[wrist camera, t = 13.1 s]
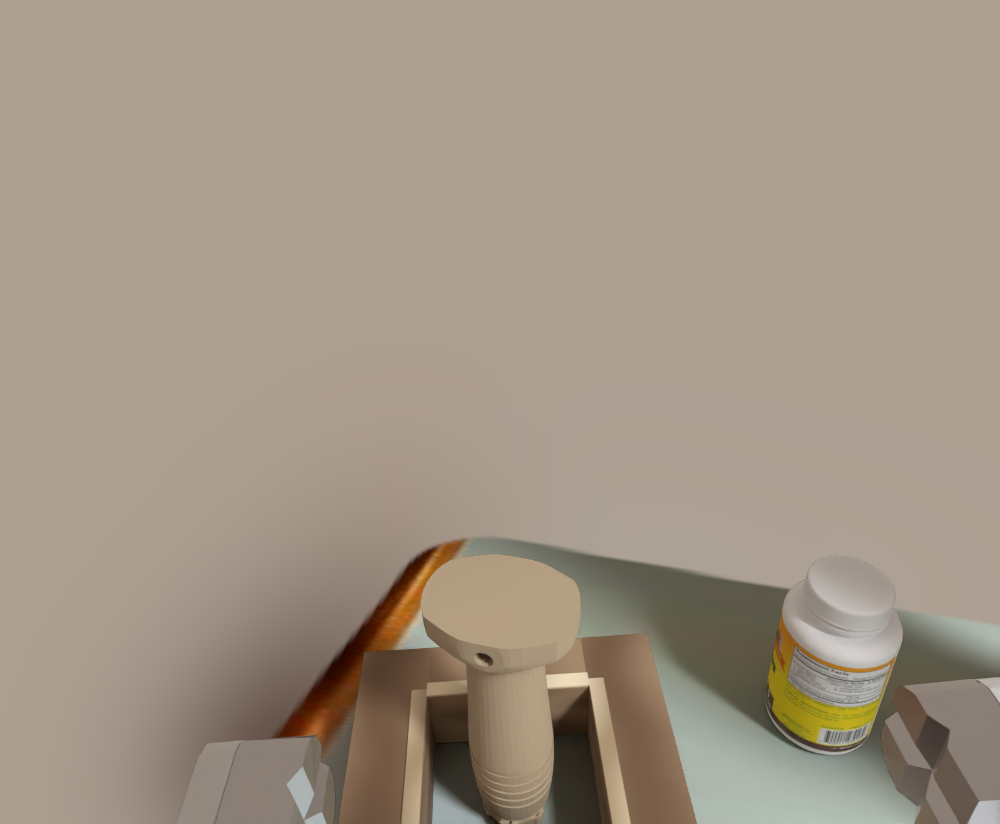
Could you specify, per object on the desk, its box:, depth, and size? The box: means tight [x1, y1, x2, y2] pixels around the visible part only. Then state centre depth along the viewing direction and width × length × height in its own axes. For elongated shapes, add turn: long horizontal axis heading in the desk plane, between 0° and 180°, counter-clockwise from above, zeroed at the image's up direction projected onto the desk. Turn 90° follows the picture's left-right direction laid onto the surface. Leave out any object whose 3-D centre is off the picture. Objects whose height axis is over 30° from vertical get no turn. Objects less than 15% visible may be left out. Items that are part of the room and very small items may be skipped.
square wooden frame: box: [338, 634, 697, 824], centre depth 36 cm, size 16×14×4 cm
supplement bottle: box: [765, 556, 903, 755], centre depth 38 cm, size 6×6×10 cm
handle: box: [421, 554, 581, 824], centre depth 33 cm, size 5×6×15 cm
